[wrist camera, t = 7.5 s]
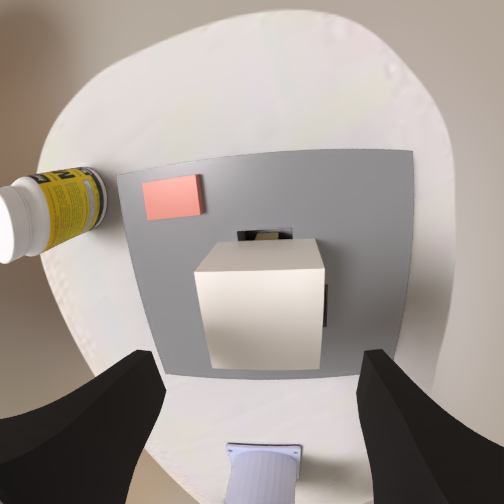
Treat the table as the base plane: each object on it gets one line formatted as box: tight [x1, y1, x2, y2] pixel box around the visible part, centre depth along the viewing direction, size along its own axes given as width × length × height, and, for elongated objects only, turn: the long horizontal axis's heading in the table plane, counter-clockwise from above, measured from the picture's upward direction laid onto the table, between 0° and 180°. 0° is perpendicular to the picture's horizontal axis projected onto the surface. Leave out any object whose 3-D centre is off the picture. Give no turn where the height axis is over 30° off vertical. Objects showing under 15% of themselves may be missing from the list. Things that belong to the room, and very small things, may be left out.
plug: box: [194, 232, 325, 370], centre depth 14 cm, size 7×5×6 cm
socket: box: [116, 149, 414, 380], centre depth 16 cm, size 14×16×3 cm
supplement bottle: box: [0, 167, 107, 263], centre depth 13 cm, size 5×5×8 cm
